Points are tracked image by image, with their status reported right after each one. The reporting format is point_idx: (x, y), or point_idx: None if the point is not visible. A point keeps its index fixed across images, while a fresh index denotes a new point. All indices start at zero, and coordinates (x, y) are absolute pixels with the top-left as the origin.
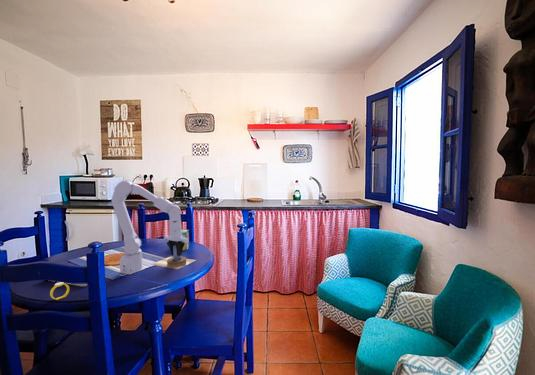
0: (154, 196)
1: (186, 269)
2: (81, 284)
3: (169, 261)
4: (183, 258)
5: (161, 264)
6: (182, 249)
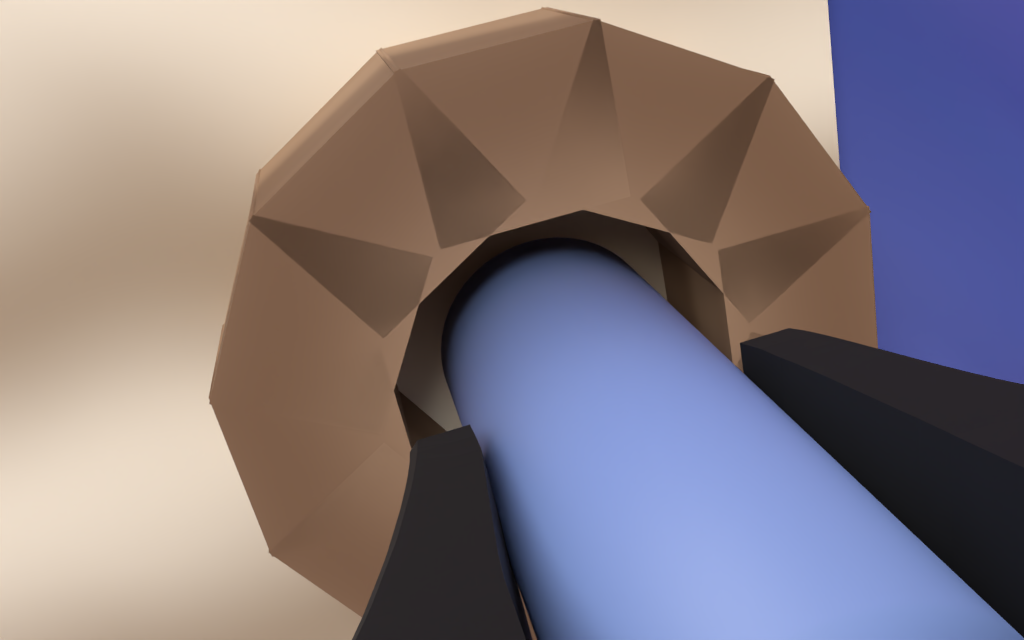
0: None
1: (991, 307)
2: None
3: None
4: (715, 176)
5: (163, 622)
6: (1012, 390)
